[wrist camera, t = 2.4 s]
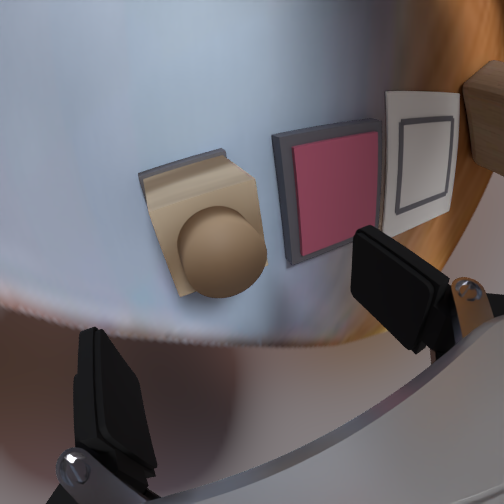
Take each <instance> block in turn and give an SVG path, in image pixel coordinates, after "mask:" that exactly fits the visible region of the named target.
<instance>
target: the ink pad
mask: <svg viewBox="0 0 504 504" xmlns="http://www.w3.org/2000/svg"><path fill="white" fill-rule="evenodd" d="M272 142H273V149H274V157H275V165H276V173H277V181H278V190H279V198H280V207H281V216H282V225H283V234H284V244H285V254H286V259H287V260H288V261H289V262H290V263H291V264H292V265H295V264H297V263H300V262H302V261H305V260H307V259H310V258H313V257H315V256H318V255H320V254H323V253H325V252H328V251H330V250H333V249H335V248H338V247H340V246H343V245H345V244H348V243H350V242H353V236H354V235H355V232H356V230H358V229H360V228H362V227H365V226H367V225H372V226H374V227H375V228H377V229H378V224H379V211H380V194H381V170H382V121H381V120H377V119H373V118H371V119H362V120H355V121H347V122H340V123H333V124H327V125H321V126H315V127H309V128H304V129H298V130H293V131H288V132H283V133H278V134H273V135H272Z"/></svg>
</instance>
